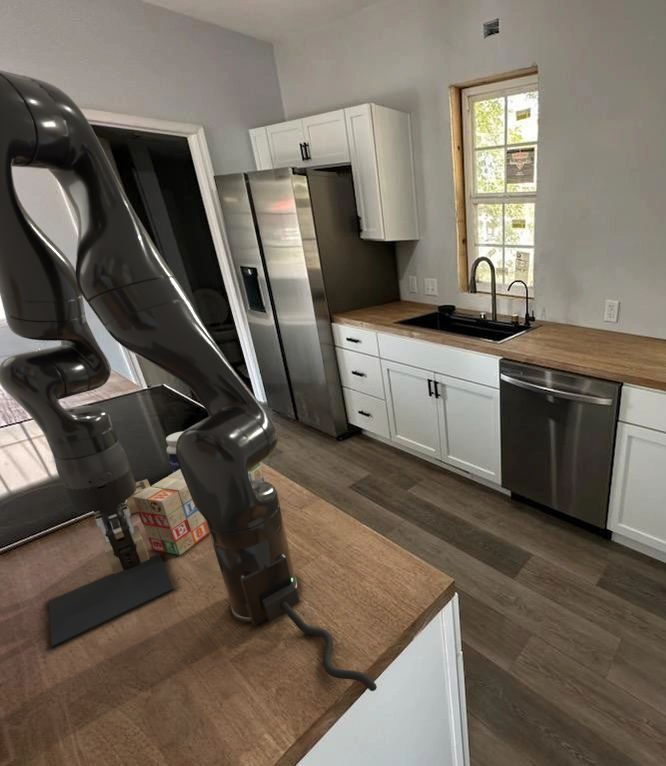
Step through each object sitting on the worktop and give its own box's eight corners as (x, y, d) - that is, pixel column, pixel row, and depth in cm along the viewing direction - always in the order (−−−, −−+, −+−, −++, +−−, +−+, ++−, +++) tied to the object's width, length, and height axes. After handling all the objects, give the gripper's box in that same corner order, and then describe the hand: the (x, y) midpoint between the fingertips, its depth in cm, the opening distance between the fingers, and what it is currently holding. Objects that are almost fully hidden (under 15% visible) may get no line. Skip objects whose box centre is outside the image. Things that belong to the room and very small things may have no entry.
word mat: (174, 589, 69) (173, 588, 68) (52, 648, 59) (51, 646, 59) (160, 555, 75) (160, 553, 75) (49, 602, 66) (48, 600, 66)
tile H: (156, 505, 88) (150, 487, 87) (129, 514, 85) (122, 496, 84) (153, 496, 91) (146, 478, 89) (126, 505, 88) (119, 487, 86)
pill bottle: (168, 475, 99) (157, 438, 95) (193, 463, 104) (183, 428, 100) (184, 480, 97) (173, 443, 93) (209, 468, 102) (199, 433, 98)
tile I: (149, 559, 70) (142, 537, 68) (114, 574, 67) (105, 552, 65) (144, 545, 73) (137, 524, 71) (110, 559, 70) (101, 537, 68)
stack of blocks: (243, 484, 96) (231, 438, 91) (266, 488, 95) (256, 441, 90) (151, 550, 76) (131, 495, 72) (179, 556, 75) (160, 501, 71)
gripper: (59, 463, 65) (94, 548, 71) (65, 504, 56) (105, 596, 63) (122, 447, 70) (150, 527, 77) (136, 482, 62) (167, 569, 68)
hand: (129, 557), depth 70 cm, fingers closed on tile I, 4 cm apart
